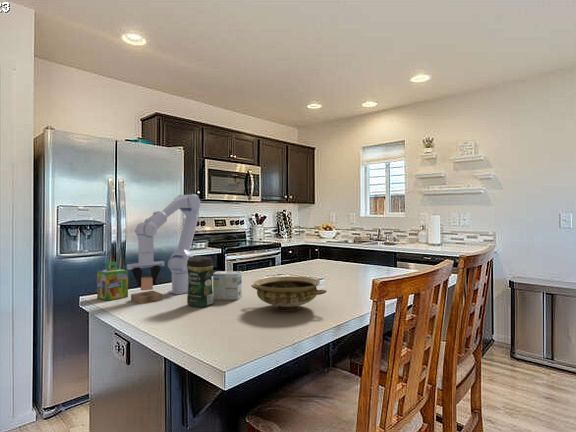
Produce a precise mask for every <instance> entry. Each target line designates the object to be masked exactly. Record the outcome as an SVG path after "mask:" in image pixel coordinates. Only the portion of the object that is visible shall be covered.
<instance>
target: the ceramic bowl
mask: <svg viewBox="0 0 576 432" xmlns="http://www.w3.org/2000/svg"><path fill="white" fill-rule="evenodd" d="M320 283H321V281H320V280H318V279H317V278H312V277H307V276H306V277H305V276H271V277H270V276H269V277H265V278H261V279H258V280H255V281H254V282H253V283H252V284H251V288H253V289H254V290H256V295H257V297H258V298H259V299H260V300H261V301H262V302H264V303H266V304H269V305H271V306H276V307H275V309H276V310H277V311H279V312H294V311H297V310H299V306H303V305H305V304H308V303H310V302H312V301H313V300H314V299H315V298H316V297H317V296H319V295H323V294H326V293H327V289H317V287H318V286H319V285H320Z"/></svg>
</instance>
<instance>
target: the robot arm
mask: <svg viewBox="0 0 576 432" xmlns="http://www.w3.org/2000/svg"><path fill="white" fill-rule="evenodd" d="M201 204H202V203H201V199H200V198H199V196H198V195H197V194H195V193H193V194H178V195H177V196H176V197H175V198H174V199H173V200H172V201H171V202H170V203H169V204H168V205H167V206H166V207H165V208H164V209H163V210H161V211H159V210H158V211H154V212H152V215H151V216H150V217H148V218H146V219H144V222H139V223H138V224H137V225H136V227H135V229H134V232H135V234H136V236H137V240H138V241H137V242H138V244H137V246H138V247H137V248H138V249H137V250H138V255H137V256H138V262H134V263H128V264H126V270H127V271H129V270H130V271H131V272H132V274H133V276H134V279H135V281H136V287H138V288H140V287H141V278H142V273H143V270H142V269H147V268H149V270H150V277H152V278H153V286H156V281H157V278H158V276H159V273H160V271H161V269H162V267H164V266H165V261H164V260H159V261H158V260H157V261H154V259H155V258H154V257H155V255H154V249H155V248H154V236H155V235H156V234H157V230H158V229H160V228H161V227H162V226H163V225H165V223H167V221H168V217H170V216H171V215H172V214H174V213H175V212H176V211H178V210H180V211H181V212H182V214H184V215H185V218H184V219H185V220H184V223H183V227H182V230H181V235H180V237H179V242H178V245H177V249H176V250H175V251H173V253H172V254H171V257H170V258H169V259H168V261H167V267H168V269H169V270H170V273H171V290H168V291H167V293H170V294H174V295H181V294H186V293H187V294H188V270H187V261H188V259H189V257H194V256H193V255H192V254H191V252H190V251H191V247H192V245H193V239H194V236H195V232H196V229H197V226H198V220H199V216H200V206H201Z"/></svg>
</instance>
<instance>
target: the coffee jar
mask: <svg viewBox="0 0 576 432" xmlns="http://www.w3.org/2000/svg"><path fill="white" fill-rule="evenodd" d="M187 270H188V293H187V297H186V303H187V305H188V306H191V307H196V308H202V307H204V308H205V307H210V306H211V305H213V304H214V300H213V270H214V263H213V258H211V257H209V256H200V255H198V256H196V255H195V256H193V257H189V259H188V261H187Z"/></svg>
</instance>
